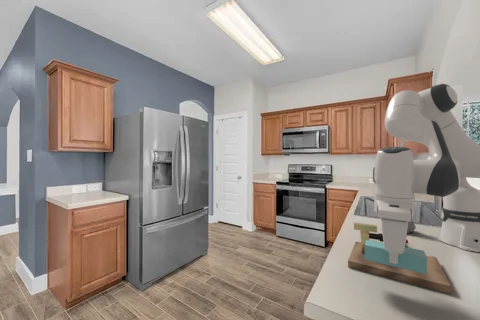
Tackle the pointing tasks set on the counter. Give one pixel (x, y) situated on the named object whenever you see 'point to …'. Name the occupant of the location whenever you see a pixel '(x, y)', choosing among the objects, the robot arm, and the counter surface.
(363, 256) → the base
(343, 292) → the counter surface
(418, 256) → the cover
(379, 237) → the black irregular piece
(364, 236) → the t key
